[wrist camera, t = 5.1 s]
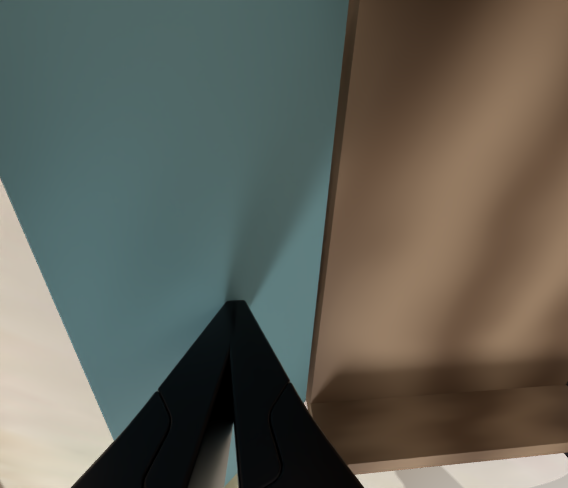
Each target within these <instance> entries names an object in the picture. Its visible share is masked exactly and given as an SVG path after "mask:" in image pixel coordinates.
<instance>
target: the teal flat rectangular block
mask: <svg viewBox="0 0 568 488" xmlns="http://www.w3.org/2000/svg"><path fill="white" fill-rule="evenodd" d="M348 5H349V0H0V178H1V181H2V183H3V185H4V188H5V190H6V192H7V195H8V197H9V199H10V202H11V204H12V206H13V208H14V211H15V213H16V215H17V218H18V220H19V222H20V225H21V227H22V229H23V232H24V234H25V236H26V239H27V241H28V243H29V245H30V248H31V250H32V252H33V255H34V257H35V259H36V262H37V264H38V266H39V269H40V271H41V273H42V276H43V278H44V280H45V282H46V285H47V287H48V289H49V292H50V294H51V296H52V299H53V301H54V303H55V306H56V308H57V310H58V312H59V315H60V317H61V319H62V322H63V324H64V326H65V329H66V331H67V333H68V336H69V338H70V340H71V343H72V345H73V347H74V349H75V352H76V354H77V356H78V359H79V361H80V363H81V366H82V368H83V370H84V373H85V375H86V377H87V380H88V382H89V384H90V386H91V389H92V391H93V393H94V396H95V398H96V400H97V403H98V405H99V407H100V410H101V412H102V414H103V417H104V419H105V421H106V423H107V426H108V428H109V430H110V433H111V435H112V437H113V440H115V439H116V438H117V437H118V436H119V435H120V434H121V433H122V432H123V430H124V429H125V428H126V427H127V426H128V425H129V424H130V422H131V421H132V420H133V419H134V417H135V416H136V415H137V414H138V413H139V411H140V410H141V409H142V408H143V407H144V405H145V404H146V403H147V402H148V400H149V399H150V398H151V396H152V395H153V394H154V393H155V392H156V391H158V388H159V386H160V385H161V384H162V383H163V381H164V380H165V379H166V378H167V376H168V375H169V374H170V372H171V371H172V370H173V369H174V367H175V366H176V365H177V363H178V362H179V361H180V360H181V358H182V357H183V356H184V355H185V353H186V352H187V351H188V349H189V348H190V347H191V346H192V344H193V343H194V342H195V341H196V339H197V338H198V337H199V335H200V334H201V333H202V332H203V330H204V329H205V328H206V326H207V325H208V324H209V323H210V321H211V320H212V319H213V318H214V316H215V315H216V314H217V312H218V311H219V310H220V309H221V307H222V306H223V305H224V304H225V302H227V301H229V300H245V301H246V303H247V304H248V306H249V308H250V310H251V312H252V313H253V315H254V317H255V319H256V320H257V322H258V324H259V326H260V328H261V329H262V331H263V333H264V335H265V336H266V338H267V340H268V342H269V344H270V345H271V347H272V349H273V351H274V352H275V354H276V356H277V358H278V360H279V361H280V363H281V365H282V367H283V368H284V370H285V372H286V374H287V376H288V377H289V379H290V382H291V383H292V384H293V386H294V388H295V389H296V391H297V393H298V395H299V396H300V398H301V400H302V401H303V403H304V402H305V400H306V391H307V382H308V373H309V364H310V354H311V345H312V336H313V327H314V318H315V308H316V299H317V290H318V281H319V272H320V262H321V253H322V244H323V235H324V226H325V216H326V207H327V198H328V189H329V180H330V171H331V161H332V152H333V143H334V134H335V125H336V115H337V106H338V97H339V88H340V79H341V69H342V60H343V51H344V42H345V33H346V23H347V14H348ZM236 474H237V462H236V449H235V435H234V423H233V430H232V436H231V443H230V450H229V457H228V464H227V470H226V477H225V484H224V487H225V486H226V485H227V484H228V482H229V481H230V480H231V479H232V478H233V477H234V476H235V475H236Z"/></svg>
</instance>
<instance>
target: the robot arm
mask: <svg viewBox="0 0 568 488" xmlns="http://www.w3.org/2000/svg"><path fill="white" fill-rule="evenodd" d="M566 385H567V386H568V382H567V383H566ZM233 423H234V435H235V449H236V462H237V476H238V488H364V487H363V486H362V484H361V483H360V482H359V480H358V479H357V478H356V476H355V475H354V473H353V472H352V471H351V469H350V468H349V467H348V465H347V464H346V463H345V461H344V460H343V459H342V457H341V456H340V455H339V453H338V452H337V451H336V449H335V448H334V447H333V445H332V444H331V442H330V441H329V440H328V438H327V437H326V436H325V434H324V433H323V432H322V430H321V429H320V427H319V426H318V424H317V423H316V421H315V420H314V419H313V417H312V416H311V414H310V413H309V411H308V410H307V408H306V406H305V405H304V403H303V401H302V400H301V398H300V396H299V395H298V393H297V391H296V389H295V388H294V386H293V384H292V383H291V382H290V379H289V377H288V376H287V374H286V372H285V370H284V368H283V367H282V365H281V363H280V361H279V360H278V358H277V356H276V354H275V352H274V351H273V349H272V347H271V345H270V344H269V342H268V340H267V338H266V336H265V335H264V333H263V331H262V329H261V328H260V326H259V324H258V322H257V320H256V319H255V317H254V315H253V313H252V312H251V310H250V308H249V306H248V304H247V303H246V301H245V300H229V301H227V302H225V304H224V305H223V306H222V307H221V309H220V310H219V311H218V312H217V314H216V315H215V316H214V318H213V319H212V320H211V321H210V323H209V324H208V325H207V326H206V328H205V329H204V330H203V332H202V333H201V334H200V335H199V337H198V338H197V339H196V341H195V342H194V343H193V344H192V346H191V347H190V348H189V349H188V351H187V352H186V353H185V355H184V356H183V357H182V358H181V360H180V361H179V362H178V363H177V365H176V366H175V367H174V369H173V370H172V371H171V372H170V374H169V375H168V376H167V378H166V379H165V380H164V381H163V383H162V384H161V385H160V386H159V388H158V391H156V392H155V393H154V394H153V395H152V396H151V398H150V399H149V400H148V402H147V403H146V404H145V405H144V407H143V408H142V409H141V410H140V411H139V413H138V414H137V415H136V416H135V417H134V419H133V420H132V421H131V422H130V424H129V425H128V426H127V427H126V428H125V429H124V430H123V432H122V433H121V434H120V435H119V436H118V437H117V438H116V439H115V440H114V442H113V443H112V444H111V445H110V446H109V447H108V448H107V449H106V450H105V452H104V453H103V454H102V455H101V456H100V457H99V458H98V459H97V460H96V461H95V462H94V463H93V464H92V465H91V467H90V468H89V469H88V470H87V471H86V472H85V473H84V474H83V475H82V476H81V477H80V478H79V479H78V480H77V482H76V483H75V484H74V485H73V486H72V487H71V488H224V484H225V477H226V470H227V464H228V457H229V450H230V443H231V436H232V430H233ZM564 454H565V455H566V456H567V457H568V452H567V453H564Z"/></svg>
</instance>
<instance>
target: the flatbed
mask: <svg viewBox="0 0 568 488" xmlns="http://www.w3.org/2000/svg"><path fill="white" fill-rule="evenodd" d="M567 382H568V0H349V5H348V14H347V23H346V33H345V42H344V51H343V60H342V69H341V79H340V88H339V97H338V106H337V115H336V125H335V134H334V143H333V152H332V161H331V171H330V180H329V189H328V198H327V207H326V216H325V226H324V235H323V244H322V253H321V262H320V272H319V281H318V290H317V299H316V308H315V318H314V327H313V336H312V345H311V354H310V364H309V373H308V382H307V391H306V400H307V406H308V411H309V413H310V414H311V416H312V417H313V419H314V420H315V421H316V423H317V424H318V426H319V427H320V429H321V430H322V432H323V433H324V434H325V436H326V437H327V438H328V440H329V441H330V442H331V444H332V445H333V447H334V448H335V449H336V451H337V452H338V453H339V455H340V456H341V457H342V459H343V460H344V461H345V463H346V464H347V465H348V467H349V468H350V469H351V471H352V472H353V473H354V475H356V474H366V473H375V472H385V471H394V470H403V469H413V468H423V467H432V466H442V465H452V464H461V463H471V462H481V461H490V460H500V459H509V458H519V457H529V456H538V455H548V454H557V453H567V452H568V386H567V385H566V383H567Z"/></svg>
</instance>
